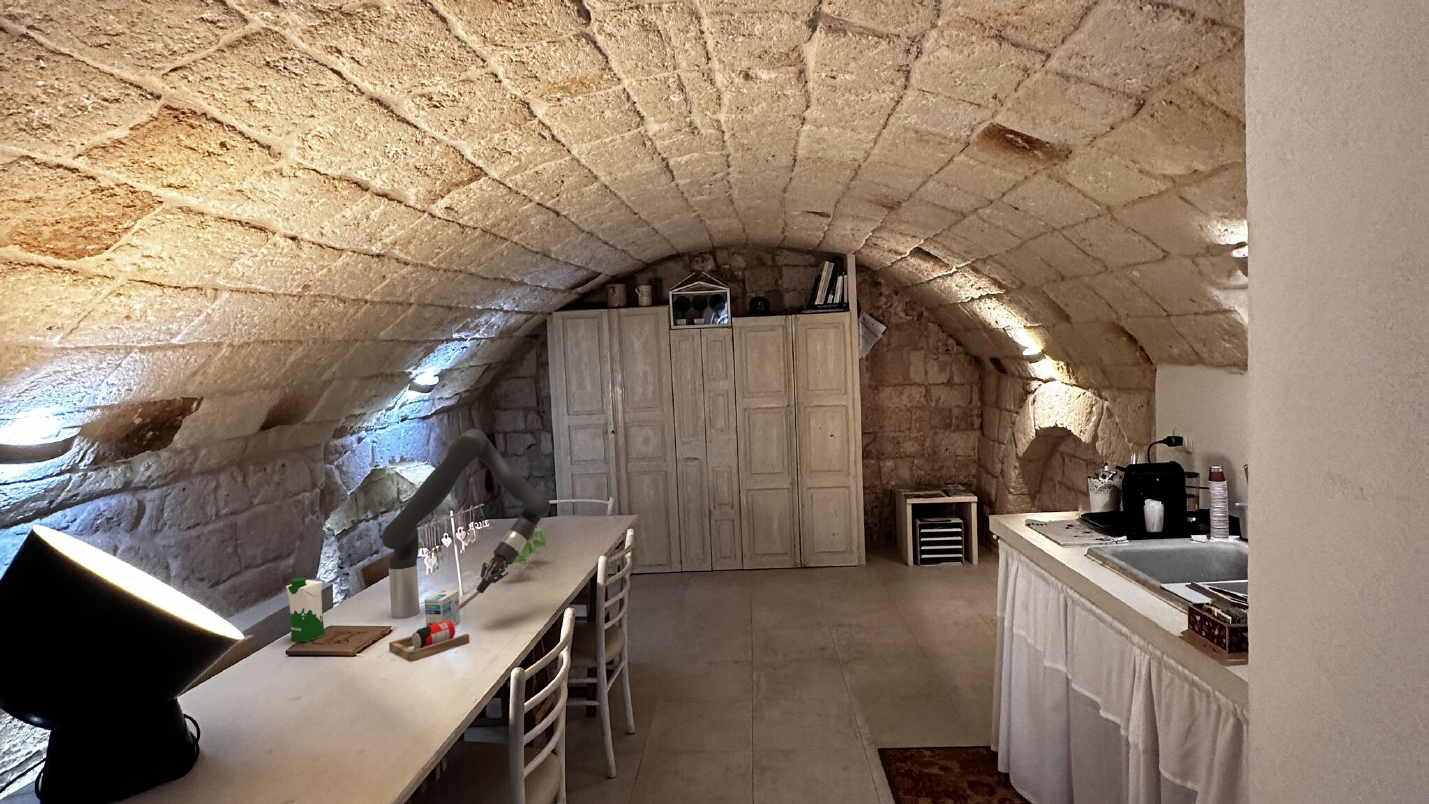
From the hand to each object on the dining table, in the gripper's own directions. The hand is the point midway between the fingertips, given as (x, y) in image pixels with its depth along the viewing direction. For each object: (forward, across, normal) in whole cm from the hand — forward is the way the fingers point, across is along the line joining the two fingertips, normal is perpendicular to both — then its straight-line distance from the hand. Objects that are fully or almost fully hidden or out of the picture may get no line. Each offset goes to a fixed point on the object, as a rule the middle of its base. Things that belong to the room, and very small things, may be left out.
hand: (479, 591), depth 250 cm
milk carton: (+37, -40, -18) cm, 57 cm away
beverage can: (+14, 0, 0) cm, 14 cm away
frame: (+22, 0, -3) cm, 22 cm away
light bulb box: (+14, -14, +5) cm, 20 cm away
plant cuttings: (-26, -43, +44) cm, 67 cm away
